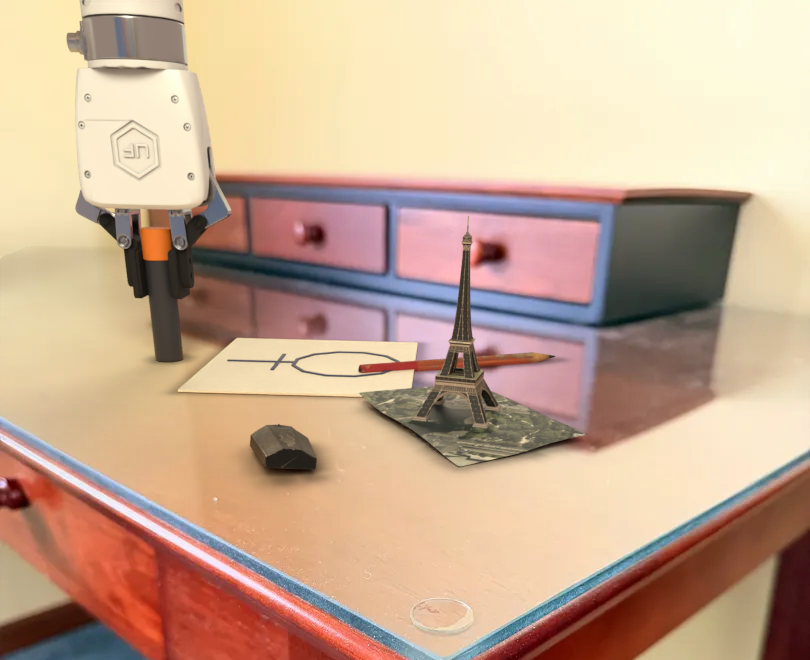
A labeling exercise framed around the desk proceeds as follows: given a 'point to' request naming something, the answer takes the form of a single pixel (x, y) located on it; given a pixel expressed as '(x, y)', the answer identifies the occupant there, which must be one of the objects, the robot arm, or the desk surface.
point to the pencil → (438, 363)
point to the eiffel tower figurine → (468, 401)
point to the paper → (303, 368)
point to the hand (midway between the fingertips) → (162, 294)
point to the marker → (161, 294)
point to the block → (283, 448)
